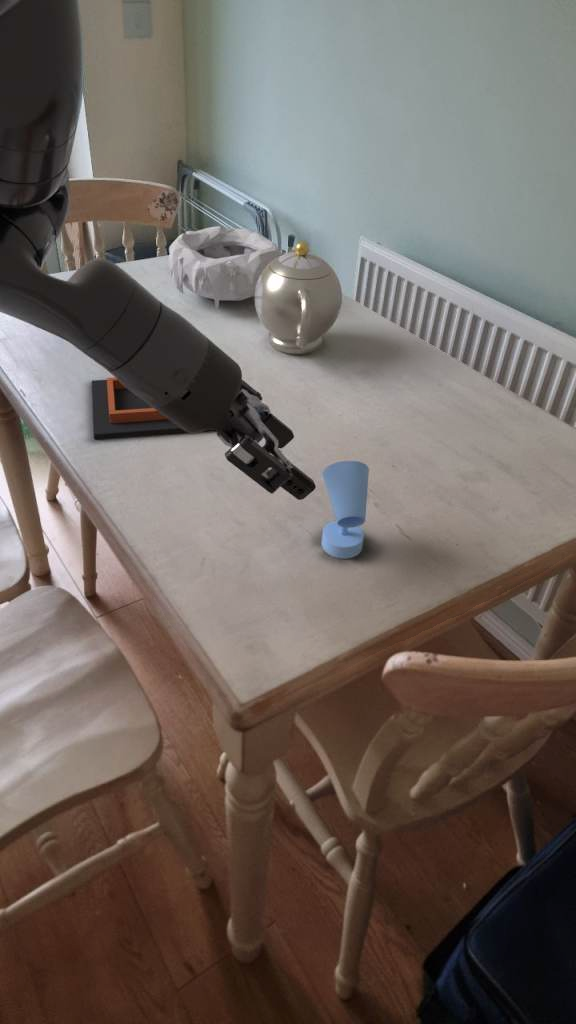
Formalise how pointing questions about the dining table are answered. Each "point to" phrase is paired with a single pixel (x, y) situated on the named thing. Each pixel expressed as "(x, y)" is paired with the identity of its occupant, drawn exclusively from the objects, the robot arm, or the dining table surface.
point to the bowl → (220, 262)
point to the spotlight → (345, 508)
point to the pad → (125, 413)
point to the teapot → (298, 300)
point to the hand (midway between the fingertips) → (297, 465)
